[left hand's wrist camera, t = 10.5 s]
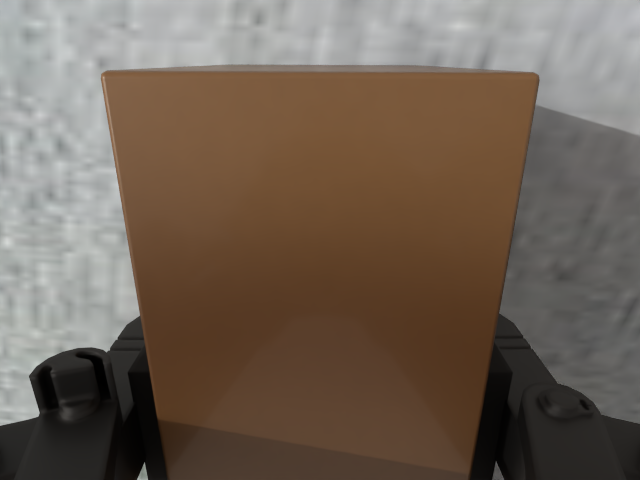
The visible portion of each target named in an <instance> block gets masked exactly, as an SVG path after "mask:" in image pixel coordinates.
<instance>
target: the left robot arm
mask: <svg viewBox="0 0 640 480" xmlns="http://www.w3.org/2000/svg"><path fill="white" fill-rule="evenodd" d="M29 378H30V381H31V384H32V388H33V391H34V395H35V398H36V401H37V405H38V408H39V411H40V414H39V417H36V418H33V419H29V420H25V421H20V422H16V423H11V424H7V425H2V426H0V480H137V478H138V476H139V474H140V471H141V469H142V467H143V464H144V462H145V465H146V470H147V476H148V480H167V474H166V468H165V461H164V455H163V449H162V443H161V437H160V431H159V425H158V419H157V413H156V407H155V401H154V395H153V389H152V383H151V377H150V371H149V365H148V359H147V353H146V347H145V341H144V335H143V329H142V323H141V317H140V316H139V317H138V318H136V319H135V320H133V321H132V322H130V323H129V324H127V325H126V327H125V328H124V330H123V331H122V332H121V334H120V335H119V337H118V340H116V341H115V342H114V343H113V345H112V346H111V348H110V351H108V352H107V353H106V352H105V351H104V350H101V349H97V348H77V349H73V350H69V351H65V352H62V353H59V354H57V355H55V356H53V357H50V358H48V359H47V360H45V361H44V362H42V363H41V364H40V365H38V366H37V367H36V368H35V369H34V370H33V372H32V373H31V374H30V375H29ZM496 461H497V464H498V466H499V468H500V470H501V473H502V475H503V477H504V480H640V424H637V423H633V422H628V421H624V420H619V419H615V418H611V417H607V416H604V415H601V414H600V412H599V410H598V409H597V407H596V406H595V404H594V403H593V402H592V401H591V400H589V399H588V398H587V397H586V396H584V395H583V394H582V393H580V392H578V391H576V390H574V389H572V388H570V387H568V386H564V385H560V384H558V383H557V382H556V381H555V379H554V378H553V377H552V375H551V374H550V372H549V371H548V370H547V368H546V367H545V366H544V364H543V363H542V361H541V360H540V359H539V357H538V356H537V355H536V353H535V352H534V350H533V349H531V346H530V345H529V344H528V342H527V341H526V339H523V335H522V334H521V333H520V331H519V330H518V329H517V327H516V326H515V324H514V323H512V322H511V321H510V320H508V319H507V318H505V317H504V316H502V315H501V314H499V316H498V322H497V328H496V334H495V339H494V345H493V351H492V357H491V362H490V368H489V374H488V380H487V385H486V391H485V397H484V403H483V408H482V414H481V420H480V426H479V431H478V437H477V443H476V449H475V454H474V460H473V466H472V472H471V478H470V480H492V477H493V472H494V467H495V462H496Z"/></svg>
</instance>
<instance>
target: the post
mask: <svg viewBox="0 0 640 480" xmlns="http://www.w3.org/2000/svg"><path fill="white" fill-rule="evenodd" d="M101 82H102V88H103V94H104V100H105V106H106V112H107V118H108V124H109V130H110V136H111V142H112V148H113V154H114V160H115V166H116V172H117V178H118V184H119V190H120V196H121V202H122V208H123V214H124V220H125V226H126V232H127V238H128V244H129V250H130V256H131V263H132V269H133V275H134V281H135V287H136V293H137V299H138V305H139V311H140V317H141V323H142V329H143V335H144V341H145V347H146V353H147V359H148V365H149V371H150V377H151V383H152V389H153V395H154V401H155V407H156V413H157V419H158V425H159V431H160V437H161V443H162V449H163V455H164V461H165V468H166V474H167V480H470V478H471V472H472V466H473V460H474V454H475V449H476V443H477V437H478V431H479V426H480V420H481V414H482V408H483V403H484V397H485V391H486V385H487V380H488V374H489V368H490V362H491V357H492V351H493V345H494V339H495V334H496V328H497V322H498V316H499V310H500V305H501V299H502V293H503V287H504V282H505V276H506V270H507V264H508V259H509V253H510V247H511V241H512V236H513V230H514V224H515V218H516V213H517V207H518V201H519V195H520V189H521V184H522V178H523V172H524V166H525V161H526V155H527V149H528V143H529V138H530V132H531V126H532V120H533V115H534V109H535V103H536V97H537V92H538V86H539V75H538V74H535V73H533V72H517V71H501V70H484V69H467V68H450V67H433V66H416V65H212V66H192V67H171V68H151V69H130V70H110V71H105V72H103V73H102V75H101Z"/></svg>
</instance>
